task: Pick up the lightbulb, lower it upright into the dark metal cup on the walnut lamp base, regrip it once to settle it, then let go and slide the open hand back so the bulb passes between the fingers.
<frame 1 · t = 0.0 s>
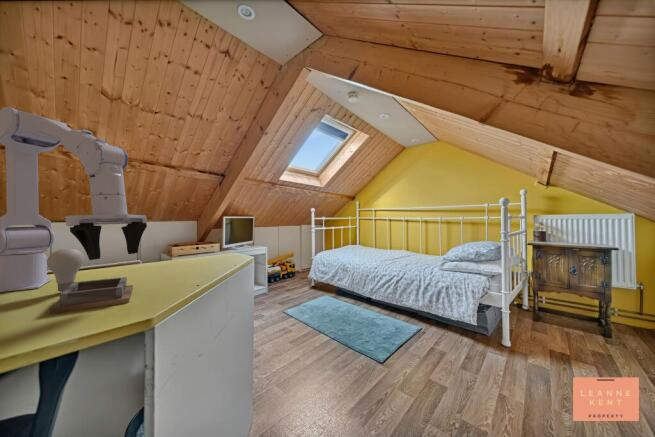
hand: (115, 256, 52), 11 cm above the table, tool pointing down, fingers open, 7 cm apart
socket base: (97, 299, 54), on the table
lightbulb: (65, 293, 57), on the table
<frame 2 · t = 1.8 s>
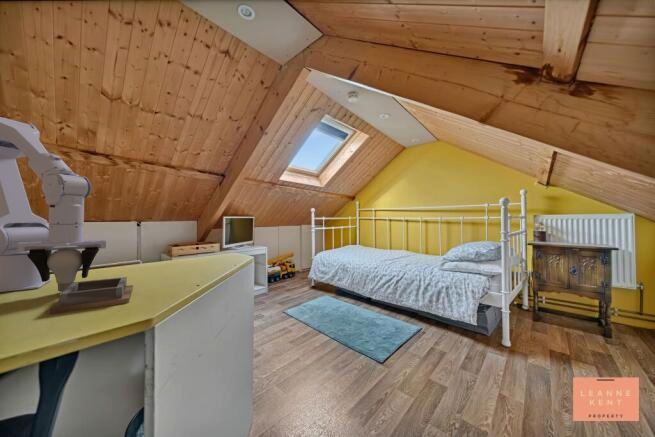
hand: (65, 278, 57), 3 cm above the table, tool pointing down, fingers closed on lightbulb, 6 cm apart
lightbulb: (65, 293, 57), on the table, touching gripper
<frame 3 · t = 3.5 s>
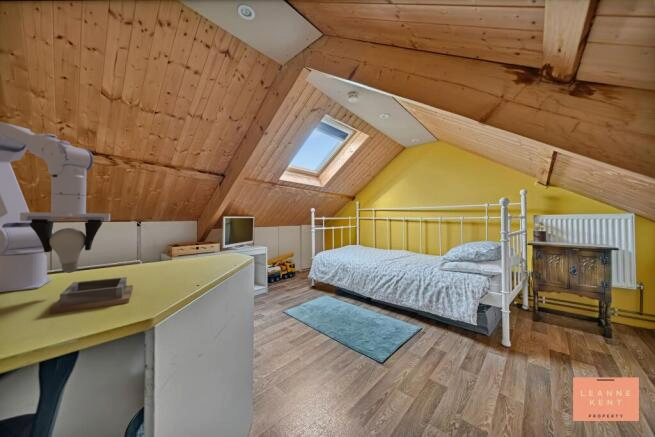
hand: (68, 250, 57), 10 cm above the table, tool pointing down, fingers closed on lightbulb, 6 cm apart
lightbulb: (70, 273, 57), point 5 cm above the table, touching gripper
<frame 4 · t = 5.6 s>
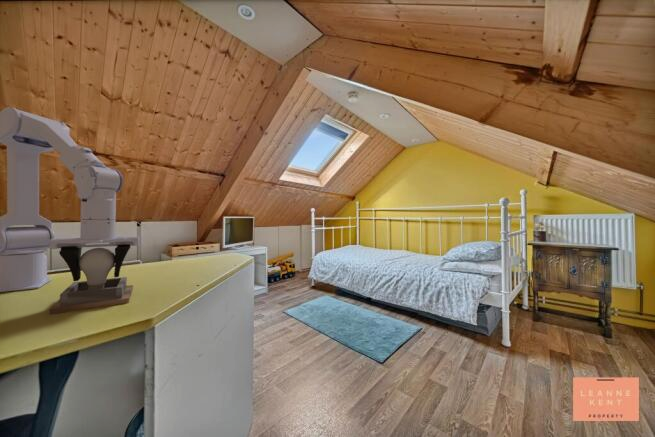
hand: (97, 278, 54), 5 cm above the table, tool pointing down, fingers closed on lightbulb, 6 cm apart
lightbulb: (95, 296, 54), point 1 cm above the table, touching gripper, socket base
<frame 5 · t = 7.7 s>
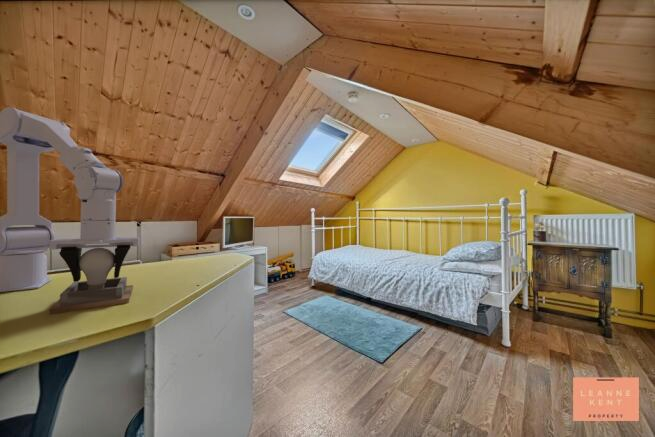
hand: (97, 278, 54), 5 cm above the table, tool pointing down, fingers closed on lightbulb, 6 cm apart
lightbulb: (95, 296, 54), point 1 cm above the table, touching gripper, socket base
when the fingers open (5 cm above the table, at t = 9.5 s): lightbulb stays where it is, resting on socket base.
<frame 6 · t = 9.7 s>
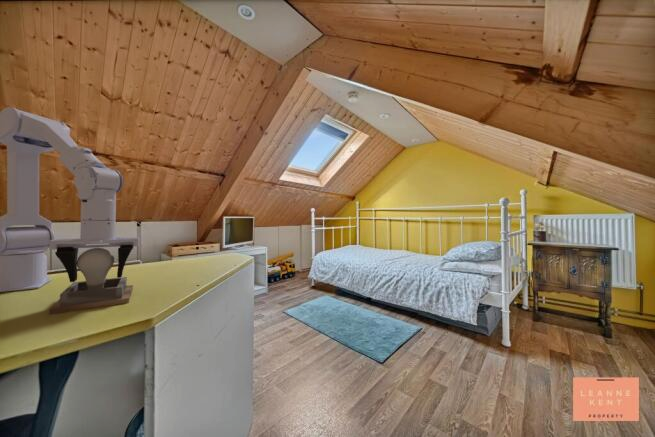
hand: (97, 278, 54), 5 cm above the table, tool pointing down, fingers open, 7 cm apart
lightbulb: (95, 296, 54), point 1 cm above the table, touching socket base
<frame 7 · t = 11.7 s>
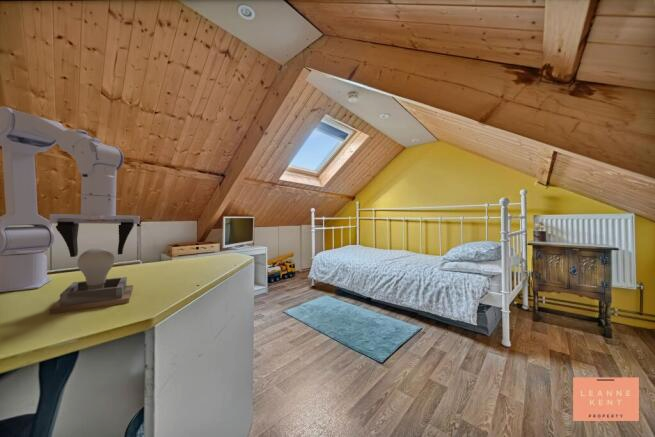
hand: (98, 255, 54), 10 cm above the table, tool pointing down, fingers open, 7 cm apart
nothing on the table moved.
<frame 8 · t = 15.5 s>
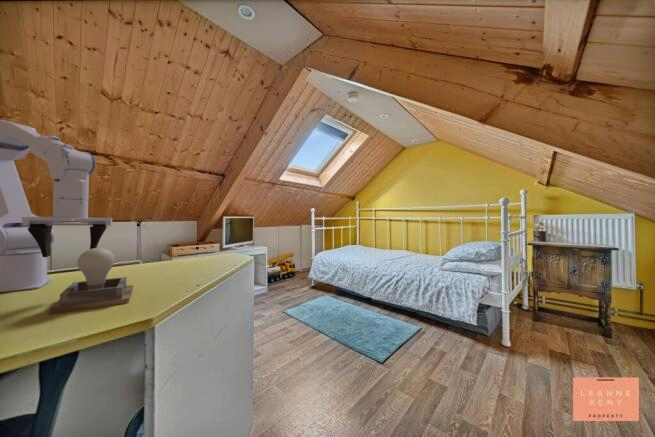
hand: (70, 255, 56), 9 cm above the table, tool pointing down, fingers open, 7 cm apart
nothing on the table moved.
at the end: lightbulb 0.2 cm off-centre on the socket base, point 0.8 cm above the socket base's base; lightbulb tilted 0°; the gripper is holding nothing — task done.
